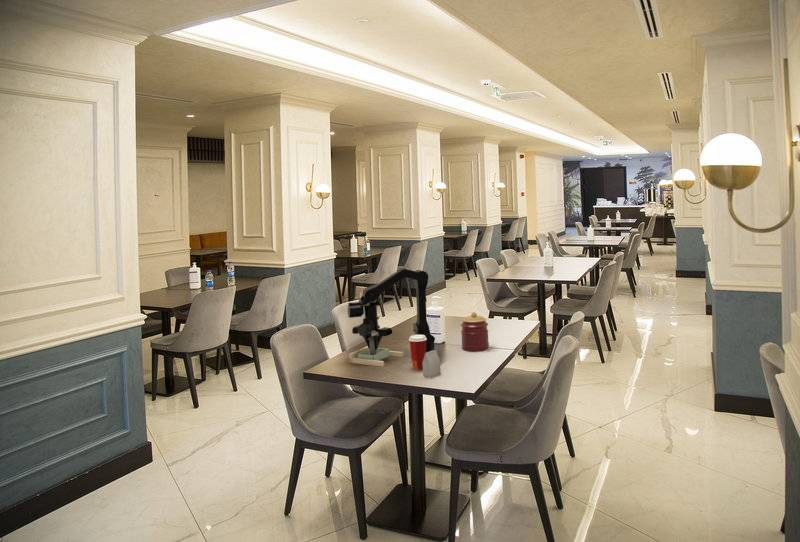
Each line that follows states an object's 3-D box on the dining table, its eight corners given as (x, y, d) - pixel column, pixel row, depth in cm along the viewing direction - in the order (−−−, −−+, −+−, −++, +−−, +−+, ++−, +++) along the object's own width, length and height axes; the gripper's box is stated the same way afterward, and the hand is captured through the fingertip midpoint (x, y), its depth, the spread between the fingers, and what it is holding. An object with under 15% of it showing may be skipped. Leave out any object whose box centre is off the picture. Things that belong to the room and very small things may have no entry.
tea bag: (440, 373, 235) (439, 350, 234) (430, 378, 230) (428, 353, 229) (433, 372, 238) (432, 349, 236) (423, 376, 233) (421, 352, 232)
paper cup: (430, 366, 247) (428, 334, 246) (425, 371, 240) (423, 338, 239) (413, 365, 250) (411, 334, 248) (407, 370, 243) (406, 338, 241)
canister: (458, 351, 270) (456, 314, 268) (465, 344, 282) (464, 309, 280) (485, 352, 265) (484, 315, 263) (491, 345, 277) (490, 310, 275)
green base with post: (389, 356, 264) (388, 334, 263) (373, 363, 253) (372, 340, 252) (373, 354, 269) (372, 333, 268) (357, 361, 258) (355, 339, 257)
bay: (403, 357, 263) (403, 347, 262) (382, 368, 248) (381, 357, 247) (371, 354, 272) (371, 344, 272) (349, 364, 257) (348, 354, 257)
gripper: (343, 317, 257) (346, 351, 258) (378, 320, 247) (380, 355, 249) (358, 313, 266) (360, 345, 268) (391, 315, 256) (393, 349, 258)
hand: (373, 349), depth 260 cm, fingers closed on green base with post, 3 cm apart
